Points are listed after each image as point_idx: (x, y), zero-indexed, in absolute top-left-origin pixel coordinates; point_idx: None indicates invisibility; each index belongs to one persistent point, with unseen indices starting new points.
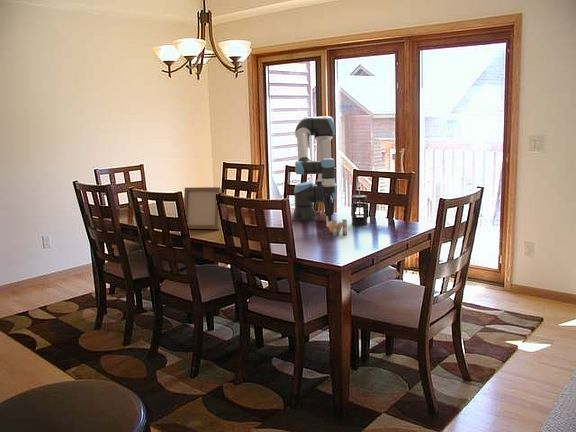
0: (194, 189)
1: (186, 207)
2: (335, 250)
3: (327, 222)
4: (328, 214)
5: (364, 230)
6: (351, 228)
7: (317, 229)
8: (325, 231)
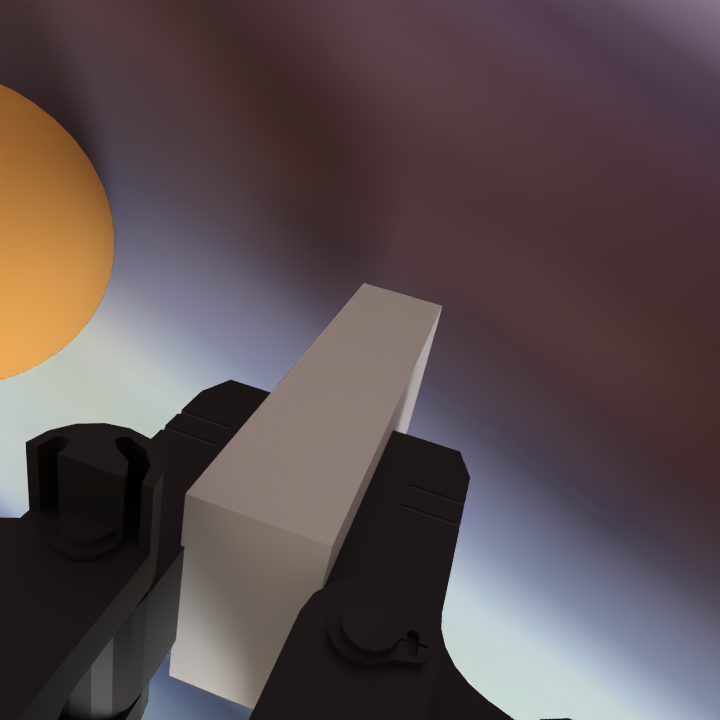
0: None
1: None
2: None
3: (315, 340)
4: (19, 545)
5: None
6: None
7: (706, 74)
8: (288, 114)
